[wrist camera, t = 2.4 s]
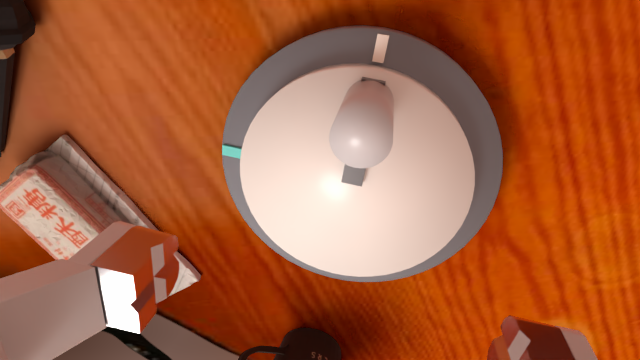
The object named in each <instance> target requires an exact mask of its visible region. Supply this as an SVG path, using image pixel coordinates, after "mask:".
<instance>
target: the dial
mask: <svg viewBox="0 0 640 360" xmlns="http://www.w3.org/2000/svg"><path fill="white" fill-rule="evenodd" d="M240 178H241V184H242V189H243V193H244V196H245V199H246V202H247V204H248V206H249V209H250V211H251V213H252V215H253V216H254V218H255V220H256V221H257V223H258V224H259V226H260V227H261V228H262V229H263V231H264V232H265V233H266V234H267V235H268V236H269V237H270V239H271V240H272V241H273V242H274V243H275V244H277V245H278V246H279V247H280V248H282V249H283V250H284V251H285V252H287V253H288V254H290V255H291V256H293V257H294V258H296V259H298V260H300V261H302V262H304V263H305V264H307V265H310V266H312V267H315V268H317V269H320V270H323V271H327V272H330V273H334V274H340V275H345V276H356V277H372V276H381V275H387V274H392V273H396V272H400V271H403V270H406V269H409V268H411V267H414V266H416V265H418V264H420V263H422V262H424V261H425V260H427V259H429V258H430V257H432V256H433V255H435V254H436V253H437V252H438V251H440V250H441V249H442V248H443V247H444V246H446V244H447V243H448V242H449V241H450V240H451V239H452V238H453V237H454V236H455V234H456V233H457V231H458V230H459V229H460V227H461V226H462V224H463V222H464V220H465V218H466V216H467V214H468V212H469V209H470V205H471V202H472V199H473V193H474V187H475V169H474V162H473V156H472V153H471V150H470V147H469V144H468V141H467V138H466V136H465V134H464V132H463V130H462V128H461V126H460V124H459V122H458V120H457V118H456V117H455V115H454V114H453V113H452V111H451V110H450V108H449V107H448V106H447V105H446V104H445V103H444V101H443V100H442V99H441V98H440V97H439V96H438V95H437V94H436V93H434V92H433V91H432V90H430V89H429V88H428V87H427V86H425V85H424V84H422V83H421V82H419V81H417V80H415V79H414V78H412V77H410V76H408V75H406V74H403V73H401V72H398V71H396V70H393V69H390V68H386V67H382V66H378V65H370V64H362V63H351V64H338V65H332V66H326V67H323V68H319V69H316V70H313V71H310V72H308V73H306V74H304V75H302V76H299V77H297V78H296V79H294V80H293V81H291V82H290V83H288V84H287V85H285V86H284V87H283V88H282V89H280V90H279V91H278V92H277V93H276V94H275V95H274V96H272V97H271V98H270V99H269V100H268V101H267V102H266V103H265V105H264V106H263V107H262V108H261V109H260V110H259V112H258V113H257V114H256V116H255V118H254V119H253V121H252V123H251V124H250V126H249V129H248V131H247V133H246V135H245V138H244V142H243V146H242V149H241V157H240Z"/></svg>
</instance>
